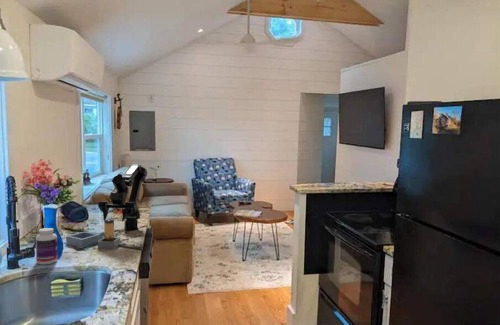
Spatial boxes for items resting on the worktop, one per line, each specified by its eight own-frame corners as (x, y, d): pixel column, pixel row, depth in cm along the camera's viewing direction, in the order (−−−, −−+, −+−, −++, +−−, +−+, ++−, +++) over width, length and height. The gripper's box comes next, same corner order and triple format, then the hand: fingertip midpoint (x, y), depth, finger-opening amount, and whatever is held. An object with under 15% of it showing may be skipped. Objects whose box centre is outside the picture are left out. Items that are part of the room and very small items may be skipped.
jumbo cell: (112, 244, 188) (113, 219, 187) (114, 247, 185) (114, 221, 183) (103, 245, 186) (103, 219, 185) (105, 248, 182) (105, 221, 181)
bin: (84, 238, 196) (84, 231, 196) (99, 242, 191) (99, 234, 191) (66, 244, 186) (66, 236, 186) (81, 247, 182) (81, 239, 181)
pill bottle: (60, 262, 161) (59, 229, 160) (39, 267, 156) (38, 232, 154) (54, 257, 167) (53, 225, 166) (33, 261, 161) (33, 228, 160)
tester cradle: (104, 243, 189) (104, 236, 189) (120, 244, 189) (120, 237, 189) (97, 248, 181) (97, 241, 181) (114, 249, 181) (114, 242, 181)
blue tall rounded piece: (70, 232, 207) (70, 196, 206) (56, 237, 198) (55, 199, 196) (50, 229, 212) (49, 194, 210) (35, 233, 203) (34, 197, 201)
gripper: (99, 185, 194) (89, 211, 183) (135, 187, 193) (127, 212, 183) (105, 198, 202) (96, 223, 192) (139, 199, 202) (133, 224, 192)
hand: (113, 220), depth 189 cm, fingers open, 9 cm apart
